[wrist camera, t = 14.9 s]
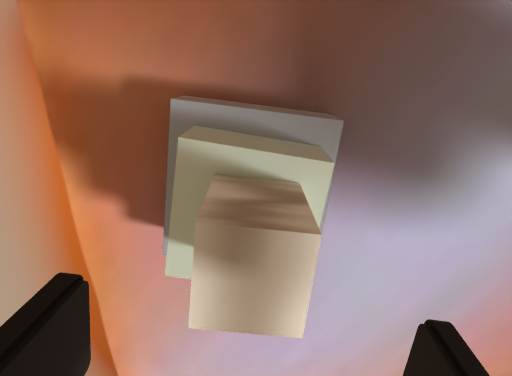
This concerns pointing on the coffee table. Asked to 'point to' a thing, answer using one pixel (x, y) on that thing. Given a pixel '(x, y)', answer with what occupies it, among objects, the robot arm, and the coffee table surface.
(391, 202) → the coffee table surface
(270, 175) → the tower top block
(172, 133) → the tower bottom block
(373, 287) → the coffee table surface
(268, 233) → the ash block
